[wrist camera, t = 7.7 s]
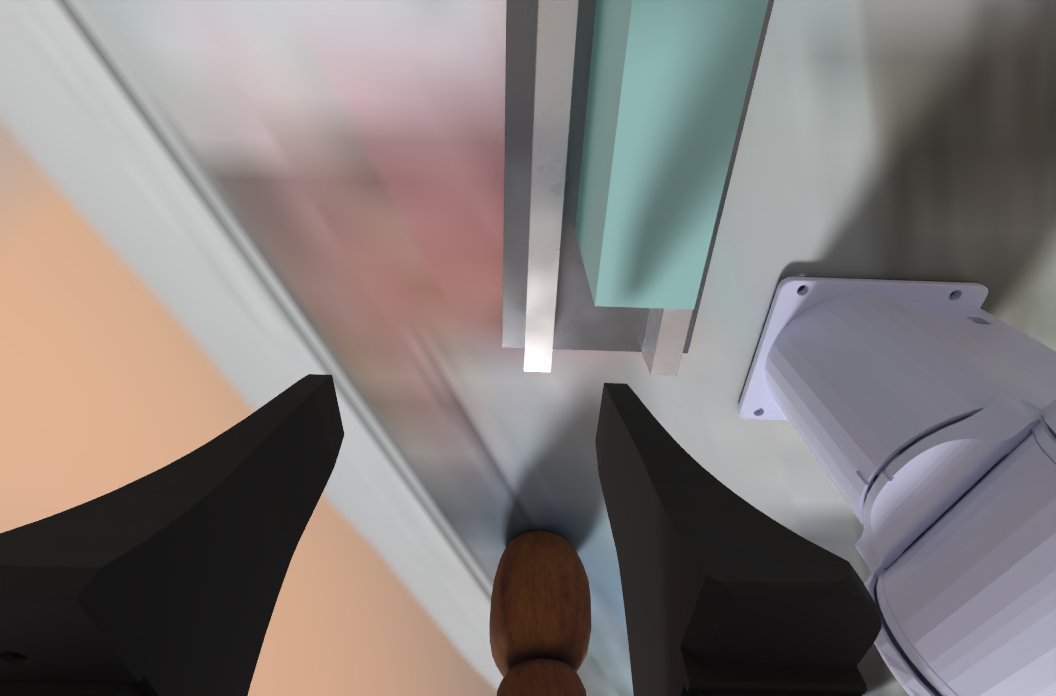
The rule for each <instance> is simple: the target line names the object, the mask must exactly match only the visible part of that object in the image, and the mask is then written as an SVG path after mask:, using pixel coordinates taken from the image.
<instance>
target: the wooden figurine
mask: <svg viewBox="0 0 1056 696" xmlns="http://www.w3.org/2000/svg"><path fill="white" fill-rule="evenodd" d="M590 633H591V598H590V590H589V581H588V578H587V575H586V572H585V569H584V566H583V564H582V562H581V560H580V558H579V556H578V554H577V552H576V551H575V549H574V548H573V546H572V545H571V544H570V543H569V542H568V541H567V540H566V539H564V538H563V537H561V536H558V535H556V534H553V533H551V532H547V531H541V530H536V531H530V532H526V533H524V534H522V535H520V536H518V537H517V538H515V539H513V540H512V541H511V542H510V543H509V544H508V546H507V547H506V548H505V550H504V552H503V554H502V557H501V559H500V562H499V565H498V569H497V572H496V576H495V579H494V584H493V590H492V596H491V610H490V644H491V650H492V656H493V658H494V661H495V663H496V666H497V667H498V669H499V671H500V672H501V674H502V676H503V677H504V678H503V680H502V682H501V684H500V686H499V688H498V691H497V696H586V690H585V688H584V686H583V684H582V682H581V680H580V678H579V676H578V674H577V673H576V672H577V671H578V669H579V668H580V666H581V664H582V662H583V660H584V658H585V657H586V655H587V650H588V645H589V639H590Z"/></svg>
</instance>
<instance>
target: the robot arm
mask: <svg viewBox="0 0 1056 696" xmlns="http://www.w3.org/2000/svg"><path fill="white" fill-rule="evenodd" d="M802 285H805V287H804V289H803V290H801V291H800V292H797V290H798V288H799V287H800V286H802ZM954 291H955V292H954ZM952 292H954V293H953V295H951V296H950V294H951V293H952ZM987 295H988V289H987V288H986V287H985V286H983V285H981V284H979V283H962V282H933V281H905V280H876V279H847V278H818V277H787V278H785V279H783V280H782V281H781V282H780V283H779V285H778V287H777V290H776V293H775V296H774V299H773V302H772V305H771V308H770V311H769V314H768V317H767V320H766V323H765V326H764V329H763V332H762V335H761V338H760V342H759V345H758V348H757V351H756V354H755V357H754V360H753V363H752V366H751V369H750V372H749V375H748V378H747V381H746V384H745V387H744V390H743V393H742V396H741V399H740V402H739V405H738V412H739V414H740V416H741V417H742V418H745V419H771V420H789V422H790V423H791V424H792V426H793V427H794V429H795V430H796V431H797V433H798V434H799V436H800V437H801V439H802V440H803V441H804V443H805V444H806V446H807V447H808V449H809V450H810V451H811V453H812V454H813V456H814V457H815V458H816V460H817V461H818V463H819V464H820V466H821V467H822V468H823V470H824V471H825V473H826V474H827V476H828V477H829V478H830V480H831V481H832V483H833V484H834V485H835V487H836V488H837V490H838V491H839V493H840V494H841V495H842V497H843V498H844V500H845V501H846V503H847V504H848V505H849V507H850V508H851V510H852V511H853V512H854V514H855V515H856V517H857V518H858V520H859V521H860V522H861V524H862V525H863V527H864V531H863V534H862V536H861V538H860V539H859V540H858V542H857V543H856V545H855V546H856V548H857V549H858V551H859V553H860V554H861V556H862V557H863V559H864V560H865V562H866V563H867V565H868V566H869V568H870V569H871V571H872V572H873V574H872V575H871V576H870V577H869V578H868V579H867V580H866V582H865V583H863V582H862V580H861V579H860V577H859V576H858V574H857V573H856V571H855V570H854V569H853V567H852V566H851V565H850V563H849V562H848V561H846V560H844V559H842V558H841V557H839V556H837V555H835V554H833V553H831V552H829V551H827V550H825V549H823V548H822V547H820V546H818V545H816V544H814V543H812V542H810V541H808V540H806V539H805V538H803V537H801V536H799V535H798V534H796V533H794V532H793V531H791V530H789V529H788V528H786V527H784V526H783V525H781V524H779V523H778V522H776V521H774V520H773V519H771V518H770V517H768V516H767V515H765V514H764V513H762V512H761V511H759V510H758V509H756V508H755V507H753V506H752V505H750V504H749V503H748V502H746V501H745V500H743V499H742V498H741V497H739V496H738V495H736V494H735V493H734V492H732V491H731V490H730V489H729V488H727V487H726V486H725V485H723V484H722V483H721V482H720V481H718V480H717V479H716V478H715V477H714V476H713V475H711V474H710V473H709V472H708V471H707V470H705V469H704V468H703V467H702V466H701V465H700V464H699V463H697V462H696V461H695V460H694V459H693V458H692V457H691V456H690V455H689V454H688V453H687V452H686V451H685V450H684V449H683V448H682V447H681V446H680V445H679V444H678V443H677V442H676V441H675V440H674V439H673V438H672V437H671V436H670V434H669V433H668V432H667V431H666V430H665V429H664V428H663V427H662V426H661V424H660V423H659V422H658V421H657V420H656V419H655V417H654V416H653V415H652V414H651V413H650V411H649V410H648V409H647V408H646V407H645V405H644V404H643V403H642V402H641V400H640V399H639V398H638V397H637V395H636V394H635V393H634V392H633V390H632V389H631V388H630V387H629V386H628V385H627V384H615V383H604V387H603V394H602V401H601V408H600V415H599V422H598V429H597V435H596V450H597V461H598V470H599V477H600V482H601V486H602V490H603V495H604V499H605V504H606V508H607V512H608V516H609V521H610V525H611V529H612V533H613V538H614V542H615V546H616V551H617V556H618V562H619V568H620V575H621V583H622V591H623V599H624V607H625V616H626V625H627V633H628V642H629V652H630V662H631V672H632V682H633V692H634V696H862V695H861V694H864V693H865V692H866V691H867V688H866V683H865V681H864V680H863V678H862V676H861V674H860V672H859V670H858V668H857V664H858V663H859V662H860V660H861V659H862V658H863V656H864V655H865V654H866V652H867V651H868V650H869V648H870V647H871V646H872V644H873V643H874V644H875V646H876V648H877V649H878V651H879V653H880V654H881V656H882V658H883V660H884V661H885V663H886V665H887V666H888V668H889V669H890V671H891V672H892V674H893V675H894V676H895V678H896V679H897V681H898V682H899V683H900V684H901V686H902V687H903V688H904V689H905V691H906V692H907V693H908V694H909V695H910V696H1056V351H1054V350H1052V349H1051V348H1049V347H1047V346H1045V345H1044V344H1042V343H1040V342H1038V341H1037V340H1035V339H1033V338H1031V337H1030V336H1028V335H1026V334H1024V333H1023V332H1021V331H1019V330H1017V329H1016V328H1014V327H1012V326H1010V325H1009V324H1007V323H1005V322H1003V321H1002V320H1000V319H998V318H996V317H995V316H993V315H991V314H989V313H988V312H986V311H984V310H982V309H981V308H980V307H981V306H982V304H983V302H984V300H985V299H986V297H987ZM759 408H760V410H758V411H755V410H756V409H759ZM343 437H344V431H343V426H342V421H341V416H340V412H339V407H338V402H337V397H336V392H335V387H334V382H333V378H332V375H313V374H309V375H307V376H305V377H304V378H302V379H301V380H299V381H298V382H296V383H295V384H293V385H292V386H291V387H289V388H288V389H286V390H285V391H284V392H282V393H281V394H279V395H278V396H277V397H275V398H274V399H272V400H271V401H270V402H268V403H267V404H265V405H264V406H262V407H261V408H260V409H258V410H257V411H255V412H254V413H252V414H251V415H250V416H248V417H247V418H245V419H244V420H242V421H241V422H239V423H238V424H236V425H235V426H233V427H232V428H230V429H228V430H227V431H225V432H224V433H222V434H221V435H219V436H217V437H216V438H214V439H213V440H211V441H210V442H208V443H206V444H205V445H203V446H201V447H200V448H198V449H196V450H194V451H193V452H191V453H189V454H187V455H186V456H184V457H182V458H180V459H178V460H176V461H174V462H173V463H171V464H169V465H167V466H165V467H163V468H161V469H159V470H157V471H155V472H153V473H151V474H149V475H147V476H144V477H142V478H140V479H138V480H136V481H134V482H132V483H130V484H127V485H125V486H124V487H121V488H119V489H117V490H115V491H112V492H110V493H108V494H106V495H103V496H101V497H98V498H96V499H93V500H91V501H89V502H86V503H84V504H81V505H79V506H76V507H74V508H71V509H68V510H66V511H63V512H61V513H58V514H55V515H53V516H50V517H47V518H45V519H42V520H39V521H36V522H33V523H30V524H27V525H24V526H22V527H19V528H15V529H13V530H10V531H7V532H4V533H1V534H0V696H247V695H248V691H249V688H250V684H251V681H252V677H253V674H254V671H255V667H256V664H257V660H258V657H259V654H260V651H261V647H262V644H263V641H264V637H265V634H266V631H267V628H268V625H269V622H270V619H271V616H272V613H273V610H274V607H275V604H276V601H277V598H278V595H279V592H280V589H281V586H282V583H283V581H284V578H285V575H286V572H287V569H288V567H289V564H290V561H291V558H292V556H293V554H294V551H295V549H296V546H297V544H298V542H299V540H300V538H301V536H302V533H303V532H304V530H305V527H306V525H307V523H308V521H309V519H310V517H311V515H312V513H313V511H314V509H315V507H316V505H317V503H318V500H319V498H320V496H321V494H322V492H323V490H324V488H325V486H326V484H327V482H328V479H329V477H330V475H331V473H332V471H333V469H334V466H335V463H336V460H337V457H338V454H339V450H340V447H341V444H342V440H343Z"/></svg>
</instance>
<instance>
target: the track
mask: <svg viewBox="0 0 1056 696" xmlns="http://www.w3.org/2000/svg"><path fill="white" fill-rule="evenodd" d="M773 3H774V0H769V1H768V5H767V9H766V13H765V18H764V22H763V26H762V30H761V34H760V38H759V42H758V47H757V51H756V55H755V59H754V63H753V67H752V71H751V76H750V80H749V84H748V88H747V92H746V96H745V100H744V105H743V109H742V113H741V117H740V121H739V125H738V129H737V134H736V138H735V142H734V146H733V150H732V154H731V158H730V163H729V167H728V171H727V175H726V179H725V183H724V187H723V192H722V196H721V200H720V204H719V208H718V212H717V216H716V221H715V225H714V229H713V233H712V237H711V241H710V245H709V250H708V254H707V258H706V262H705V266H704V270H703V274H702V279H701V283H700V287H699V291H698V295H697V299H696V303H695V308H694V310H691V309H662V308H633V307H605V306H595V305H594V302H593V298H592V294H591V290H590V286H589V283H588V279H587V275H586V271H585V267H584V263H583V260H582V256H581V252H580V248H579V244H578V241H577V237H576V233H575V228H576V217H577V206H578V195H579V184H580V173H581V162H582V151H583V140H584V129H585V119H586V108H587V97H588V86H589V75H590V64H591V53H592V42H593V31H594V20H595V10H596V0H507V13H506V94H505V175H504V256H503V338H502V347H508V348H524V371H531V372H551V362H552V349H572V350H604V351H636V352H642V354H643V356H644V359H645V362H646V364H647V367H648V370H649V372H650V375H663V376H677V374H678V370H679V366H680V361H681V357H682V353H688V350H689V346H690V342H691V338H692V334H693V330H694V326H695V321H696V317H697V313H698V309H699V305H700V301H701V297H702V293H703V289H704V285H705V281H706V276H707V272H708V268H709V264H710V260H711V256H712V252H713V248H714V244H715V240H716V236H717V232H718V227H719V223H720V219H721V215H722V211H723V207H724V203H725V199H726V195H727V191H728V187H729V182H730V178H731V174H732V170H733V166H734V162H735V158H736V154H737V150H738V146H739V142H740V137H741V133H742V129H743V125H744V121H745V117H746V113H747V109H748V105H749V101H750V97H751V92H752V88H753V84H754V80H755V76H756V72H757V68H758V64H759V60H760V56H761V52H762V47H763V43H764V39H765V35H766V31H767V27H768V23H769V19H770V15H771V11H772V7H773Z"/></svg>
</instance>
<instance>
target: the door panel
mask: <svg viewBox="0 0 1056 696" xmlns="http://www.w3.org/2000/svg"><path fill="white" fill-rule="evenodd" d="M768 1H769V0H596V10H595V20H594V31H593V42H592V53H591V64H590V75H589V86H588V97H587V108H586V119H585V129H584V140H583V151H582V162H581V173H580V184H579V195H578V206H577V217H576V228H575V233H576V237H577V241H578V244H579V248H580V252H581V256H582V260H583V263H584V267H585V271H586V275H587V279H588V283H589V286H590V290H591V294H592V298H593V302H594V305H595V306H605V307H633V308H662V309H691V310H694V308H695V303H696V299H697V295H698V291H699V287H700V283H701V279H702V274H703V270H704V266H705V262H706V258H707V254H708V250H709V245H710V241H711V237H712V233H713V229H714V225H715V221H716V216H717V212H718V208H719V204H720V200H721V196H722V192H723V187H724V183H725V179H726V175H727V171H728V167H729V163H730V158H731V154H732V150H733V146H734V142H735V138H736V134H737V129H738V125H739V121H740V117H741V113H742V109H743V105H744V100H745V96H746V92H747V88H748V84H749V80H750V76H751V71H752V67H753V63H754V59H755V55H756V51H757V47H758V42H759V38H760V34H761V30H762V26H763V22H764V18H765V13H766V9H767V5H768Z"/></svg>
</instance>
